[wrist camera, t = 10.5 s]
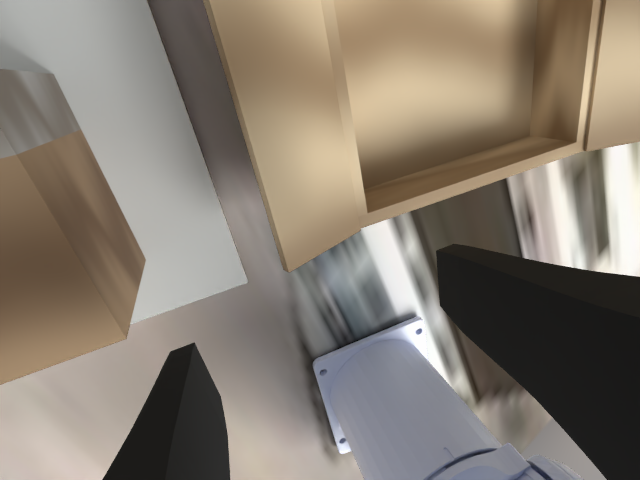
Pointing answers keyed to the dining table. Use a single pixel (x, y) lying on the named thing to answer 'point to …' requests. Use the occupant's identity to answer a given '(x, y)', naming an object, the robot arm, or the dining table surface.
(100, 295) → the block
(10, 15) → the grey mat
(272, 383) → the dining table surface
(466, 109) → the carton
